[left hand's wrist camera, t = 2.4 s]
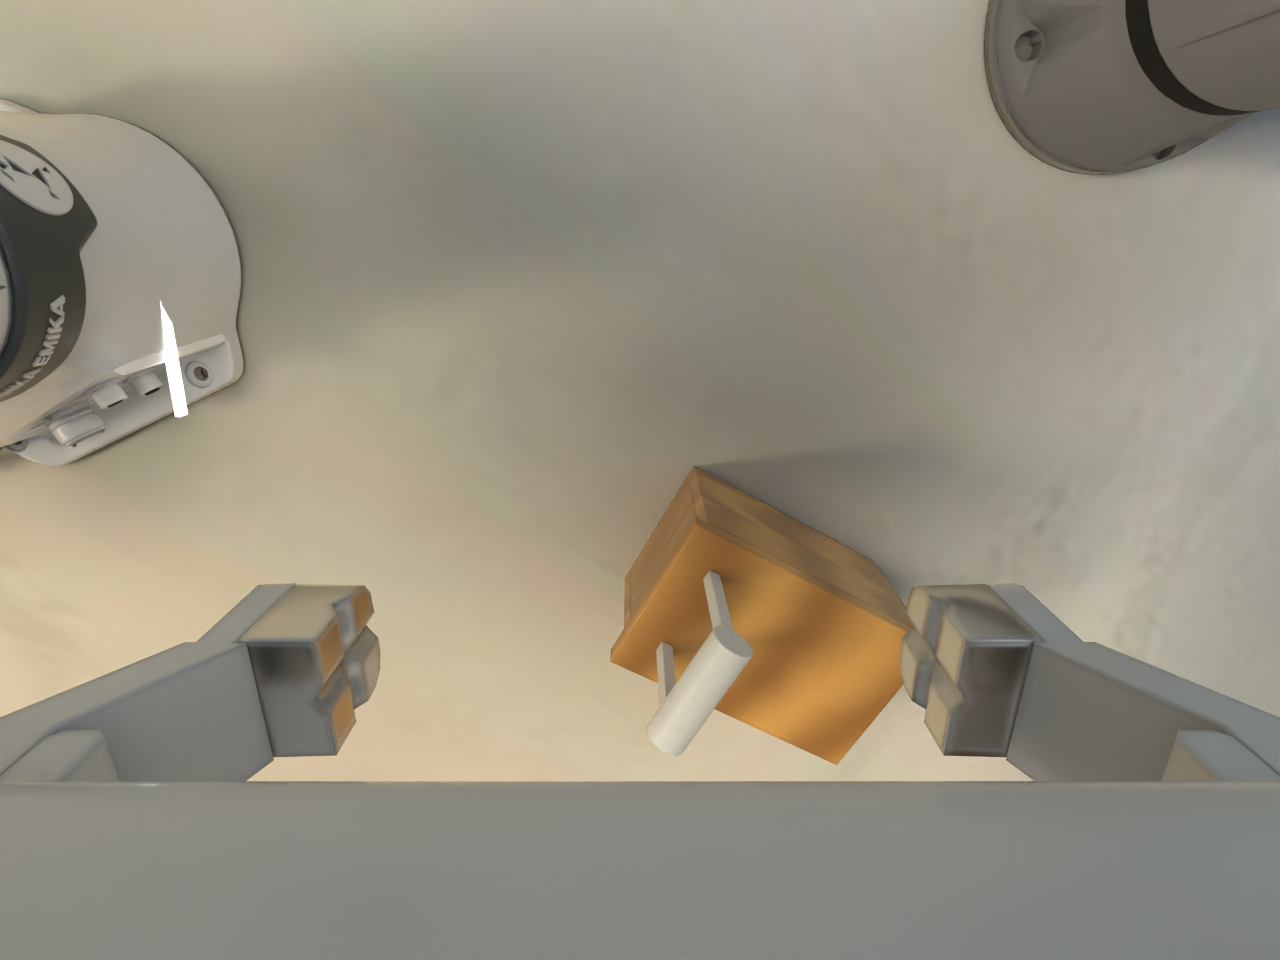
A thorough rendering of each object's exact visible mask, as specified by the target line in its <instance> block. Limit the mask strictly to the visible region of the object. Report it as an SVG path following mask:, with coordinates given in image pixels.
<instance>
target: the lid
mask: <svg viewBox="0 0 1280 960" xmlns="http://www.w3.org/2000/svg"><path fill="white" fill-rule="evenodd" d="M910 629H911V627H909V626H907V625H905V624H903V623H901V622H900V621H898V620H896V619H894V618H892V617H890V616H888V615H886V614H884V613H882V612H880V611H878V610H876V609H874V608H872V607H870V606H868V605H866V604H864V603H862V602H861V601H859V600H857V599H855V598H853V597H851V596H849V595H847V594H845V593H843V592H841V591H839V590H837V589H835V588H833V587H831V586H829V585H827V584H825V583H824V582H822V581H820V580H818V579H816V578H814V577H812V576H810V575H808V574H806V573H804V572H802V571H800V570H798V569H796V568H794V567H792V566H790V565H788V564H786V563H785V562H783V561H781V560H779V559H777V558H775V557H773V556H771V555H769V554H767V553H765V552H763V551H761V550H759V549H757V548H755V547H753V546H751V545H749V544H747V543H746V542H744V541H742V540H740V539H738V538H736V537H734V536H732V535H730V534H728V533H726V532H724V531H722V530H720V529H718V528H716V527H714V526H712V525H710V524H709V523H707V522H705V521H703V520H701V519H699V518H697V517H695V518H694V519H693V521H692V523H691V524H690V526H689V527H688V529H687V531H686V532H685V534H684V535H683V537H682V538H681V540H680V542H679V543H678V545H677V546H676V548H675V549H674V551H673V553H672V554H671V556H670V557H669V559H668V561H667V562H666V564H665V565H664V567H663V568H662V570H661V572H660V573H659V575H658V576H657V578H656V579H655V581H654V583H653V584H652V586H651V587H650V589H649V591H648V592H647V594H646V595H645V597H644V598H643V600H642V602H641V603H640V605H639V606H638V608H637V610H636V611H635V613H634V614H633V616H632V617H631V619H630V621H629V622H628V624H627V625H626V627H625V628H624V630H623V632H622V633H621V635H620V636H619V638H618V640H617V641H616V643H615V644H614V646H613V647H612V649H611V660H610V661H611V662H613V663H615V664H617V665H619V666H622V667H624V668H626V669H628V670H630V671H633V672H635V673H637V674H639V675H641V676H643V677H646V678H648V679H650V680H652V681H654V682H657V683H658V691H659V709H658V710H657V712H656V713H655V715H654V716H653V718H652V719H651V721H650V722H649V724H648V725H647V734H648V737H649V739H650V740H651V742H652V743H653V744H654V745H655V746H656V747H657V748H658V749H659V750H661V751H662V752H664V753H666V754H669V755H673V756H677V755H680V754H682V753H683V751H684V750H685V749H686V747H687V746H688V745H689V743H690V742H691V740H692V739H693V738H694V736H695V735H696V733H697V732H698V731H699V729H700V728H701V726H702V725H703V724H704V722H705V721H706V720H707V718H708V717H709V715H710V714H711V713H712V711H713V710H714V709H716V710H718V711H720V712H722V713H724V714H727V715H729V716H731V717H733V718H735V719H738V720H740V721H742V722H744V723H746V724H748V725H751V726H753V727H755V728H757V729H759V730H762V731H764V732H766V733H768V734H770V735H773V736H775V737H777V738H779V739H781V740H783V741H786V742H788V743H790V744H792V745H794V746H797V747H799V748H801V749H803V750H805V751H808V752H810V753H812V754H814V755H816V756H818V757H821V758H823V759H825V760H827V761H829V762H832V763H834V764H836V765H837V764H838V763H839V762H840V760H841V759H842V758H843V757H844V756H845V754H846V753H847V752H848V751H849V750H850V748H851V747H852V746H853V745H854V744H855V742H856V741H857V740H858V739H859V737H860V736H861V735H862V734H863V733H864V731H865V730H866V729H867V728H868V727H869V725H870V724H871V723H872V722H873V720H874V719H875V718H876V717H877V716H878V714H879V713H880V712H881V711H882V710H883V708H884V707H885V706H886V705H887V703H888V702H889V701H890V700H891V699H892V697H893V696H894V695H895V694H896V693H897V691H898V690H899V689H900V688H901V687H902V685H903V684H904V683H903V680H902V677H901V668H900V658H899V657H900V649H901V640H902V637H903V636H904V635H905V634H906V633H907V632H908V631H909V630H910Z"/></svg>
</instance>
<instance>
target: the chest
mask: <svg viewBox="0 0 1280 960" xmlns="http://www.w3.org/2000/svg"><path fill="white" fill-rule="evenodd" d="M695 517H697V518H699V519H701V520H703V521H705V522H707V523H709V524H710V525H712V526H714V527H716V528H718V529H720V530H722V531H724V532H726V533H728V534H730V535H732V536H734V537H736V538H738V539H740V540H742V541H744V542H746V543H747V544H749V545H751V546H753V547H755V548H757V549H759V550H761V551H763V552H765V553H767V554H769V555H771V556H773V557H775V558H777V559H779V560H781V561H783V562H785V563H786V564H788V565H790V566H792V567H794V568H796V569H798V570H800V571H802V572H804V573H806V574H808V575H810V576H812V577H814V578H816V579H818V580H820V581H822V582H824V583H825V584H827V585H829V586H831V587H833V588H835V589H837V590H839V591H841V592H843V593H845V594H847V595H849V596H851V597H853V598H855V599H857V600H859V601H861V602H862V603H864V604H866V605H868V606H870V607H872V608H874V609H876V610H878V611H880V612H882V613H884V614H886V615H888V616H890V617H892V618H894V619H896V620H898V621H900V622H901V623H903V624H905V625H907V626H909V627H911V628H912V627H913V626H914V624H913V622H912V621H911V619H910V618H909V616H908V615H907V613H906V608H907V607H906V606H905V604H904V603H903V602H902V600H901V599H900V597H899V596H898V595H897V593H896V592H895V590H894V589H893V588H892V586H891V585H890V584H889V582H888V581H887V579H886V578H885V577H884V575H883V574H882V572H881V571H880V570H879V568H878V567H877V566H876V564H875V563H874V561H872V560H870V559H868V558H867V557H865V556H863V555H861V554H859V553H857V552H855V551H853V550H851V549H850V548H848V547H846V546H844V545H842V544H840V543H838V542H836V541H834V540H832V539H831V538H829V537H827V536H825V535H823V534H821V533H819V532H817V531H815V530H814V529H812V528H810V527H808V526H806V525H804V524H802V523H800V522H798V521H797V520H795V519H793V518H791V517H789V516H787V515H785V514H783V513H781V512H779V511H778V510H776V509H774V508H772V507H770V506H768V505H766V504H764V503H762V502H761V501H759V500H757V499H755V498H753V497H751V496H749V495H747V494H745V493H744V492H742V491H740V490H738V489H736V488H734V487H732V486H730V485H728V484H726V483H725V482H723V481H721V480H719V479H717V478H715V477H713V476H711V475H709V474H708V473H706V472H704V471H702V470H700V469H698V468H696V467H693V469H692V470H691V472H690V474H689V475H688V477H687V479H686V480H685V482H684V483H683V485H682V487H681V488H680V490H679V492H678V493H677V495H676V496H675V498H674V500H673V501H672V503H671V505H670V506H669V508H668V510H667V511H666V513H665V514H664V516H663V518H662V519H661V521H660V523H659V524H658V526H657V527H656V529H655V531H654V532H653V534H652V536H651V537H650V539H649V540H648V542H647V544H646V545H645V547H644V549H643V550H642V552H641V553H640V555H639V557H638V558H637V560H636V562H635V563H634V565H633V566H632V568H631V570H630V571H629V573H628V575H627V576H626V578H625V610H624V628H625V627H626V625H627V624H628V622H629V621H630V619H631V617H632V616H633V614H634V613H635V611H636V610H637V608H638V606H639V605H640V603H641V602H642V600H643V598H644V597H645V595H646V594H647V592H648V591H649V589H650V587H651V586H652V584H653V583H654V581H655V579H656V578H657V576H658V575H659V573H660V572H661V570H662V568H663V567H664V565H665V564H666V562H667V561H668V559H669V557H670V556H671V554H672V553H673V551H674V549H675V548H676V546H677V545H678V543H679V542H680V540H681V538H682V537H683V535H684V534H685V532H686V531H687V529H688V527H689V526H690V524H691V523H692V521H693V519H694V518H695Z"/></svg>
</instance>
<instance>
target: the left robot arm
mask: <svg viewBox="0 0 1280 960" xmlns="http://www.w3.org/2000/svg"><path fill="white" fill-rule="evenodd" d="M240 291H241V265H240V257H239V252H238V247H237V243H236V240H235V236H234V233H233V230H232V228H231V225H230V223H229V220H228V218H227V216H226V214H225V212H224V210H223V208H222V206H221V204H220V202H219V201H218V199H217V197H216V196H215V194H214V193H213V191H212V190H211V188H210V187H209V186H208V184H207V183H206V182H205V180H204V179H203V178H202V177H201V175H200V174H199V173H198V172H197V171H196V170H195V169H194V168H193V167H192V165H191V164H189V163H188V162H187V161H186V160H185V159H184V158H183V157H182V156H181V155H180V154H179V153H177V152H176V151H175V150H174V149H173V148H171V147H170V146H169V145H167V144H166V143H164V142H163V141H161V140H160V139H159V138H157V137H155V136H154V135H152V134H150V133H148V132H146V131H144V130H143V129H141V128H139V127H136V126H134V125H132V124H129V123H126V122H124V121H121V120H118V119H114V118H110V117H106V116H100V115H93V114H41V113H38V112H35V111H33V110H30V109H28V108H25V107H23V106H20V105H18V104H15V103H12V102H9V101H6V100H2V99H0V451H1V450H2V448H3V447H4V448H6V449H8V450H9V451H11V452H13V453H15V454H17V455H19V456H21V457H24V458H26V459H28V460H31V461H34V462H36V463H39V464H42V465H46V466H50V467H57V466H61V465H64V464H67V463H70V462H73V461H75V460H78V459H80V458H82V457H84V456H86V455H88V454H90V453H92V452H94V451H96V450H98V449H100V448H102V447H104V446H106V445H108V444H110V443H112V442H114V441H116V440H118V439H120V438H123V437H125V436H127V435H129V434H131V433H133V432H135V431H137V430H139V429H141V428H143V427H145V426H147V425H149V424H151V423H153V422H155V421H157V420H159V419H161V418H163V417H165V416H167V415H169V414H171V413H173V412H174V413H175V417H182V416H184V415H187V414H188V411H187V406H188V405H190V404H192V403H194V402H196V401H198V400H200V399H202V398H204V397H206V396H208V395H210V394H212V393H214V392H216V391H218V390H220V389H222V388H224V387H226V386H228V385H230V384H232V383H234V382H236V381H237V380H238V379H239V378H240V377H241V376H242V373H243V369H244V363H243V356H242V350H241V346H240V342H239V338H238V334H237V331H236V317H237V310H238V304H239V298H240ZM201 367H202V368H204V369H205V370H206V371H207V373H208V378H206V377H204V376H203V375H202V373H201ZM373 613H374V609H373V604H372V599H371V594H370V592H369V590H368V589H367V588H366V587H365V586H364V585H311V584H299V585H297V584H265V585H258V586H257V587H256V588H254V589H253V590H252V591H251V592H250V593H249V594H248V595H247V596H246V597H245V598H244V599H243V600H241V601H240V602H239V603H238V604H237V605H236V606H235V607H234V608H233V609H232V610H231V611H230V612H228V613H227V614H226V615H225V616H224V617H223V618H222V619H221V620H220V621H219V622H218V623H216V624H215V625H214V626H213V627H212V628H211V629H210V630H209V631H208V632H207V633H206V634H205V635H203V636H202V637H201V638H200V639H199V640H198V641H197V642H185V643H182V644H180V645H177V646H175V647H172V648H170V649H167V650H165V651H162V652H160V653H158V654H155V655H153V656H150V657H148V658H145V659H143V660H140V661H138V662H135V663H133V664H131V665H128V666H126V667H123V668H121V669H118V670H116V671H113V672H111V673H108V674H106V675H104V676H101V677H99V678H96V679H94V680H91V681H89V682H86V683H84V684H81V685H79V686H77V687H74V688H72V689H69V690H67V691H64V692H62V693H59V694H57V695H54V696H52V697H50V698H47V699H45V700H42V701H40V702H37V703H35V704H32V705H30V706H27V707H25V708H23V709H20V710H18V711H15V712H13V713H10V714H8V715H5V716H3V717H0V960H1280V718H1279V717H1277V716H1274V715H1272V714H1269V713H1267V712H1264V711H1262V710H1259V709H1257V708H1255V707H1252V706H1250V705H1247V704H1245V703H1242V702H1240V701H1237V700H1235V699H1233V698H1230V697H1228V696H1225V695H1223V694H1220V693H1218V692H1215V691H1213V690H1211V689H1208V688H1206V687H1203V686H1201V685H1198V684H1196V683H1193V682H1191V681H1188V680H1186V679H1184V678H1181V677H1179V676H1176V675H1174V674H1171V673H1169V672H1166V671H1164V670H1162V669H1159V668H1157V667H1154V666H1152V665H1149V664H1147V663H1144V662H1142V661H1140V660H1137V659H1135V658H1132V657H1130V656H1127V655H1125V654H1122V653H1120V652H1118V651H1115V650H1113V649H1110V648H1108V647H1105V646H1103V645H1100V644H1098V643H1095V642H1083V641H1082V640H1081V639H1080V638H1079V637H1078V636H1077V635H1076V634H1074V633H1073V632H1072V631H1071V630H1070V629H1069V628H1068V627H1067V626H1066V625H1065V624H1064V623H1063V622H1061V621H1060V620H1059V619H1058V618H1057V617H1056V616H1055V615H1054V614H1053V613H1052V612H1051V611H1050V610H1048V609H1047V608H1046V607H1045V606H1044V605H1043V604H1042V603H1041V602H1040V601H1039V600H1038V599H1037V598H1035V597H1034V596H1033V595H1032V594H1031V593H1030V592H1029V591H1028V590H1027V589H1026V588H1025V587H1024V586H1021V585H1018V584H1014V583H1012V584H989V585H986V584H973V585H931V586H917V587H913V588H912V590H911V593H910V595H909V597H908V603H907V608H906V613H907V615H908V616H909V618H910V619H911V621H912V622H913V624H914V626H913V627H912V628H911V629H910V630H909V631H908V632H907V633H906V634H905V635H904V636H903V637H902V640H901V649H900V657H899V658H900V668H901V677H902V680H903V683H904V686H905V689H906V691H907V693H908V695H909V696H910V698H911V700H912V701H913V702H915V703H916V704H918V705H920V706H921V707H923V708H924V709H926V713H925V719H924V723H925V724H926V726H927V728H928V729H929V731H930V733H931V735H932V736H933V738H934V740H935V741H936V743H937V745H938V747H939V748H940V750H941V752H942V753H943V755H947V756H984V757H1007V758H1006V760H1007V761H1008V762H1010V763H1011V764H1012V765H1014V766H1015V767H1016V768H1018V769H1019V770H1020V771H1022V772H1023V773H1024V774H1026V775H1027V776H1028V777H1030V778H1031V779H1032V780H1034V781H747V782H245V781H246V780H248V779H249V778H250V777H252V776H253V775H254V774H256V773H257V772H258V771H260V770H261V769H262V768H264V767H265V766H266V765H268V764H269V763H270V762H272V761H273V760H274V759H273V757H295V756H331V755H337V754H338V752H339V750H340V748H341V747H342V745H343V743H344V742H345V740H346V738H347V736H348V735H349V733H350V731H351V730H352V728H353V726H354V724H355V723H356V719H355V713H354V709H356V708H357V707H359V706H360V705H362V704H364V703H365V702H367V701H368V700H369V698H370V696H371V694H372V693H373V691H374V689H375V687H376V683H377V679H378V675H379V670H380V647H379V640H378V637H377V636H376V635H375V634H374V633H373V632H372V631H371V630H370V629H369V628H368V627H367V626H366V624H367V622H368V621H369V619H370V618H371V616H372V615H373Z"/></svg>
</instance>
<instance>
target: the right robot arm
mask: <svg viewBox="0 0 1280 960" xmlns="http://www.w3.org/2000/svg"><path fill="white" fill-rule="evenodd" d="M984 48H985V65H986V72H987V79H988V83H989V87H990V92H991V95H992V98H993V100H994V103H995V106H996V108H997V110H998V112H999V115H1000V117H1001V119H1002V120H1003V122H1004V123H1005V125H1006V127H1007V128H1008V130H1009V131H1010V132H1011V134H1012V135H1013V136H1014V137H1015V139H1016V140H1017V141H1018V142H1019V143H1020V144H1021V145H1022V146H1023V147H1024V148H1025V149H1027V150H1028V151H1029V152H1030V153H1032V154H1033V155H1034V156H1036V157H1037V158H1039V159H1041V160H1042V161H1044V162H1046V163H1048V164H1050V165H1053V166H1055V167H1057V168H1061V169H1064V170H1067V171H1072V172H1077V173H1086V174H1105V173H1114V172H1123V171H1130V170H1135V169H1139V168H1144V167H1148V166H1150V165H1153V164H1157V163H1160V162H1163V161H1166V160H1168V159H1171V158H1174V157H1176V156H1178V155H1181V154H1183V153H1185V152H1187V151H1189V150H1191V149H1192V148H1194V147H1196V146H1198V145H1200V144H1201V143H1203V142H1205V141H1206V140H1208V139H1210V138H1212V137H1213V136H1215V135H1217V134H1218V133H1224V132H1226V131H1224V130H1225V129H1227V128H1229V127H1230V126H1232V125H1234V124H1235V123H1237V122H1239V121H1240V120H1242V119H1244V118H1246V117H1247V116H1249V115H1251V114H1252V113H1254V112H1258V111H1263V110H1269V109H1275V108H1280V0H990V4H989V9H988V14H987V20H986V29H985V47H984Z"/></svg>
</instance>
